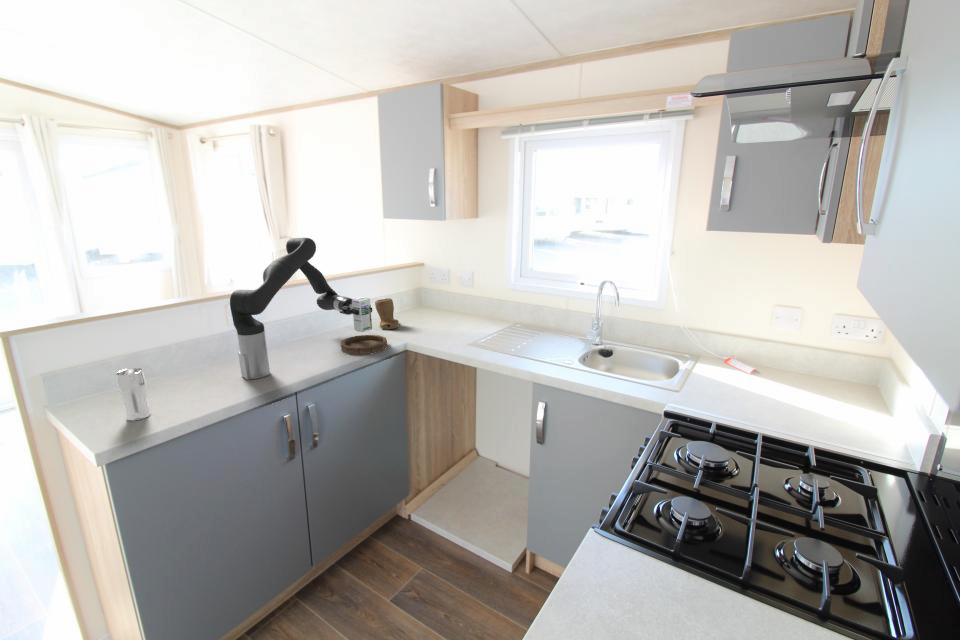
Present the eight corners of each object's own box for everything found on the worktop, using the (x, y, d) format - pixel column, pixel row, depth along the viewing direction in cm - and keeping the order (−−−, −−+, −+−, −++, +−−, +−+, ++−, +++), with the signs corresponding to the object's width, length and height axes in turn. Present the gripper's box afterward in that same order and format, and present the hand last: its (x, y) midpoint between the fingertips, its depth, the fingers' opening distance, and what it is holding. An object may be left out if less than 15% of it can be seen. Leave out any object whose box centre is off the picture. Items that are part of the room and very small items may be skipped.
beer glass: (119, 419, 140) (109, 373, 136) (142, 410, 146) (133, 366, 142) (134, 423, 137) (124, 377, 133) (157, 413, 143) (148, 369, 140)
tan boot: (377, 323, 247) (375, 296, 244) (399, 322, 249) (398, 295, 245) (375, 331, 233) (373, 302, 229) (398, 330, 235) (397, 301, 231)
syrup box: (362, 332, 201) (360, 300, 197) (353, 330, 204) (351, 298, 200) (372, 329, 205) (370, 298, 201) (364, 327, 209) (361, 296, 205)
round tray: (357, 358, 193) (356, 351, 192) (333, 347, 206) (332, 341, 206) (395, 347, 207) (395, 341, 206) (371, 338, 220) (370, 332, 220)
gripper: (330, 299, 206) (349, 305, 195) (358, 294, 216) (378, 300, 205) (331, 315, 208) (351, 322, 197) (359, 310, 218) (379, 316, 207)
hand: (364, 311), depth 201 cm, fingers closed on syrup box, 6 cm apart
